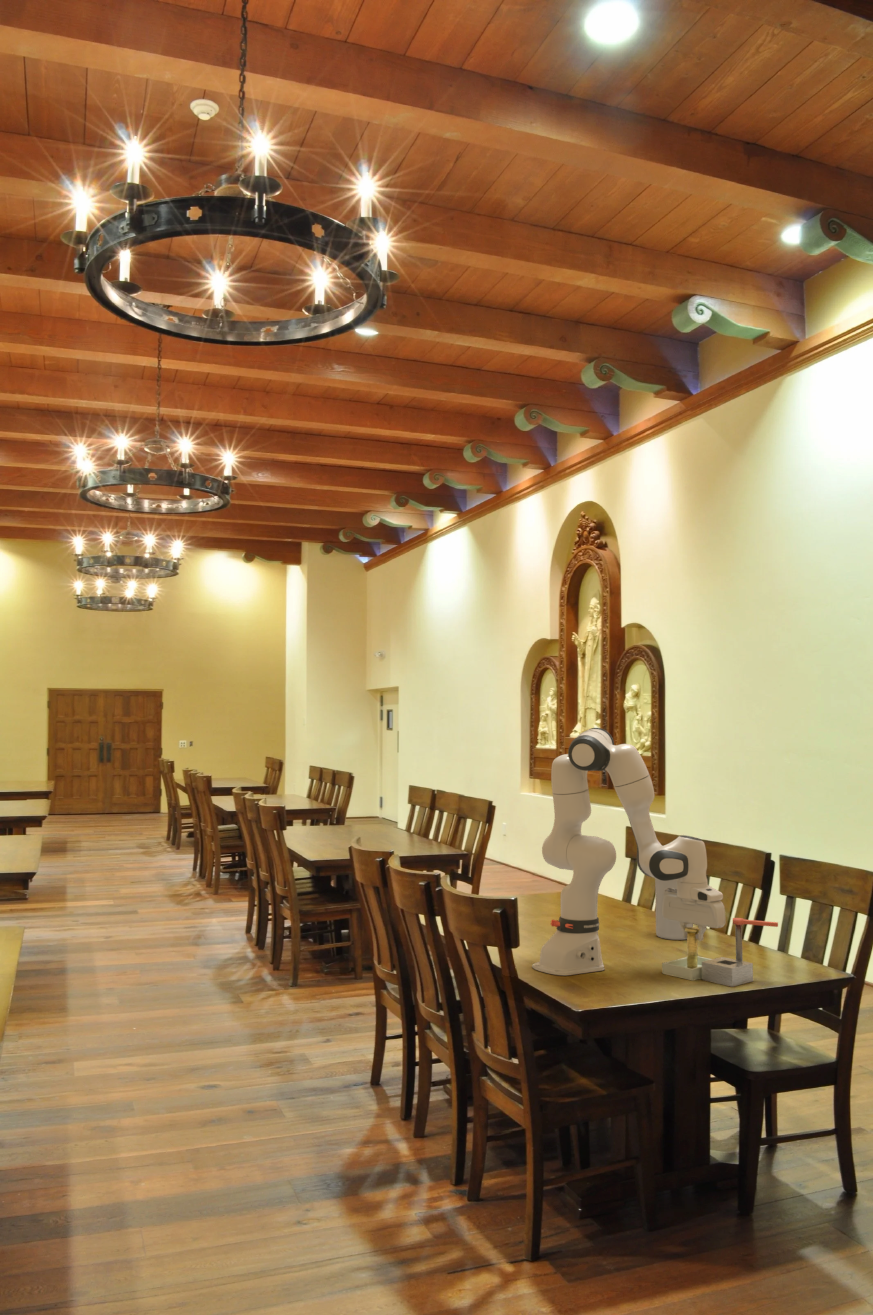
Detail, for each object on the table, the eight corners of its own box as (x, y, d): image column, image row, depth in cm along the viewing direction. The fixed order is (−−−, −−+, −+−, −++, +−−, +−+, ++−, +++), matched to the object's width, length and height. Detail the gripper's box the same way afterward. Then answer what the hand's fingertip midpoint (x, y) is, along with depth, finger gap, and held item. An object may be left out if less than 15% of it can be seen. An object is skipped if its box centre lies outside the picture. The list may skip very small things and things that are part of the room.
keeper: (731, 924, 279) (731, 919, 279) (733, 922, 282) (733, 917, 282) (776, 928, 274) (776, 923, 274) (778, 926, 277) (778, 921, 277)
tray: (692, 980, 275) (692, 969, 275) (662, 973, 283) (662, 963, 283) (724, 972, 285) (724, 961, 285) (694, 965, 293) (694, 955, 293)
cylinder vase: (690, 933, 341) (688, 861, 343) (696, 941, 329) (694, 866, 331) (653, 932, 342) (652, 861, 344) (658, 940, 330) (657, 865, 332)
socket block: (732, 987, 268) (731, 932, 269) (702, 980, 276) (701, 927, 277) (758, 980, 276) (756, 927, 277) (727, 973, 284) (726, 921, 285)
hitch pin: (692, 972, 281) (692, 930, 282) (681, 969, 284) (681, 927, 286) (703, 971, 283) (703, 929, 284) (691, 968, 287) (692, 926, 288)
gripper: (657, 888, 292) (658, 935, 291) (714, 896, 276) (716, 946, 275) (670, 886, 296) (671, 932, 295) (727, 894, 280) (729, 943, 279)
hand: (693, 939), depth 285 cm, fingers closed on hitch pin, 3 cm apart
